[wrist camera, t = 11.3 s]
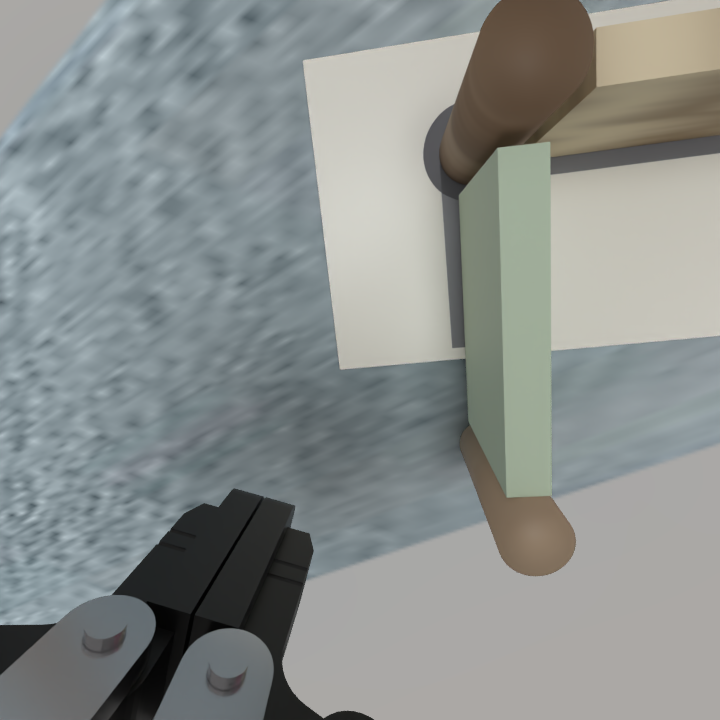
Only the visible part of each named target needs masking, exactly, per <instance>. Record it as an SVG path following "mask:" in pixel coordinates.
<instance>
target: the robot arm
mask: <svg viewBox="0 0 720 720" xmlns="http://www.w3.org/2000/svg"><path fill="white" fill-rule="evenodd" d="M294 510H295V506H294V505H291V504H287V503H284V502H280V501H277V500H273V499H270V498H267V497H266V498H264V497H263V496H259V495H256V494H252V493H249V492H245V491H242V490H238V489H235V488H234V489H233V490H232V491H231V492H230V493H229V494H228V496H227V497H226V498H225V500H224V501H223V502H222V504H221V505H220V506H219V507H215V506H212V505H208V504H205V503H204V504H202V505H200V506H198V507H196V508H194V509H192V510H190V511H188V512H186V513H184V514H183V516H182V517H181V518H180V519H179V520H178V521H177V522H176V523H175V525H174V526H173V527H172V528H171V530H170V532H169V531H168V532H167V534H166V535H165V536H164V537H163V538H162V539H161V540H160V542H159V544H158V545H156V546H155V547H154V548H153V549H152V550H151V552H150V553H149V554H148V555H147V556H146V557H145V558H144V559H143V561H142V562H141V563H140V564H139V565H138V566H137V567H136V568H135V570H134V571H133V572H132V573H131V574H130V575H129V576H128V577H127V578H126V580H125V581H124V582H123V583H122V584H121V585H120V586H119V587H118V589H117V590H116V591H115V592H114V593H113V594H112V595H110V596H104V597H99V598H96V599H93V600H90V601H88V602H85V603H83V604H81V605H79V606H78V607H76V608H75V609H73V610H72V611H70V612H69V613H68V614H67V615H65V616H64V617H63V618H62V619H61V620H60V621H59V622H58V623H55V624H46V625H0V720H374V719H372V718H371V717H369V716H366V715H364V714H362V713H358V712H354V711H341V712H336V713H333V714H331V715H329V716H327V717H326V718H324V719H323V718H322V717H321V716H319V715H318V714H317V713H315V712H314V711H313V710H311V709H310V708H309V707H307V706H306V705H305V704H303V703H302V702H301V701H300V700H299V699H298V698H297V697H296V695H295V694H294V693H293V692H292V690H291V689H290V687H289V685H288V683H287V681H286V679H285V676H284V672H283V667H282V660H283V657H284V653H285V650H286V646H287V643H288V640H289V637H290V634H291V630H292V627H293V624H294V620H295V617H296V614H297V610H298V607H299V604H300V600H301V596H302V592H303V589H304V585H305V581H306V577H307V574H308V570H309V566H310V562H311V559H312V555H313V551H314V550H313V546H312V542H311V538H310V534H309V533H305V532H302V531H299V530H295V529H292V528H290V527H291V523H292V519H293V515H294Z"/></svg>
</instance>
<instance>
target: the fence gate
mask: <svg viewBox="0 0 720 720" xmlns="http://www.w3.org/2000/svg"><path fill="white" fill-rule="evenodd" d="M459 214H460V238H461V261H462V284H463V308H464V331H465V355H466V378H467V401H468V422H469V424H470V425H469V426H468V427H467V428H466V429H465V430H464V431H463V433H462V435H461V438H460V449H461V452H462V455H463V457H464V460H465V463H466V465H467V468H468V471H469V473H470V476H471V479H472V481H473V484H474V486H475V489H476V492H477V494H478V497H479V500H480V502H481V505H482V508H483V510H484V513H485V516H486V518H487V521H488V524H489V526H490V529H491V532H492V534H493V537H494V539H495V542H496V545H497V547H498V550H499V553H500V555H501V557H502V559H503V560H504V562H505V563H506V564H507V565H508V566H509V567H510V568H512V569H513V570H515V571H516V572H518V573H521V574H524V575H528V576H543V575H548V574H551V573H553V572H556V571H557V570H559V569H561V568H562V567H563V566H564V565H566V563H567V562H568V561H569V560H570V559H571V557H572V555H573V553H574V550H575V545H576V539H575V533H574V530H573V528H572V527H571V525H570V523H569V522H568V521H567V519H566V518H565V516H564V515H563V513H562V512H561V511H560V509H559V508H558V506H557V505H556V503H555V502H554V500H553V499H552V498H551V496H552V453H551V175H550V142H543V143H534V144H526V145H517V146H508V147H500V148H497V149H496V150H495V152H494V153H493V154H492V155H491V156H490V158H489V159H488V160H487V161H486V163H485V164H484V165H483V166H482V167H481V169H480V170H479V171H478V172H477V174H476V175H475V176H474V177H473V178H472V180H471V181H470V182H469V183H468V185H467V186H466V187H465V188H464V189H463V191H462V192H461V193H460V194H459Z"/></svg>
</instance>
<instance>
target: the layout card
mask: <svg viewBox="0 0 720 720" xmlns="http://www.w3.org/2000/svg"><path fill="white" fill-rule="evenodd" d="M715 8H720V0H670V1H664V2H658V3H652V4H645V5H639V6H633V7H627V8H621V9H615V10H609V11H603V12H596V13H590V14H588V15H589V17H590V20H591V23H592V27H593V31H594V30H595V29H596V27H603V26H609V25H615V24H621V23H628V22H634V21H640V20H646V19H653V18H659V17H665V16H671V15H678V14H684V13H690V12H696V11H703V10H709V9H715ZM479 33H480V32H474V33H468V34H462V35H456V36H449V37H443V38H437V39H431V40H425V41H419V42H413V43H407V44H400V45H394V46H388V47H382V48H376V49H370V50H364V51H358V52H352V53H345V54H339V55H333V56H327V57H321V58H315V59H309V60H303V66H304V75H305V83H306V91H307V99H308V108H309V116H310V124H311V133H312V141H313V149H314V158H315V166H316V174H317V183H318V191H319V199H320V208H321V216H322V224H323V233H324V241H325V249H326V258H327V266H328V274H329V283H330V291H331V299H332V308H333V316H334V324H335V332H336V341H337V349H338V357H339V366H340V370H343V369H354V368H365V367H376V366H388V365H399V364H410V363H421V362H432V361H444V360H455V359H466V355H465V331H464V308H463V284H462V261H461V238H460V214H459V194H460V193H461V192H462V191H463V189H464V188H465V187H466V186H467V185H464V184H460V183H457V182H455V181H454V180H452V179H451V178H450V177H449V176H448V175H447V174H446V173H445V172H444V170H443V168H442V166H441V163H440V158H439V148H440V143H441V140H442V138H443V135H444V132H445V129H446V126H447V123H448V121H449V118H450V115H451V112H452V109H453V106H454V104H455V101H456V98H457V95H458V92H459V89H460V87H461V84H462V81H463V78H464V75H465V72H466V70H467V67H468V64H469V61H470V58H471V55H472V53H473V50H474V47H475V44H476V41H477V39H478V36H479ZM550 175H551V351H555V350H566V349H578V348H589V347H600V346H611V345H622V344H633V343H645V342H656V341H667V340H678V339H689V338H701V337H712V336H720V135H716V136H709V137H701V138H693V139H686V140H678V141H671V142H663V143H656V144H648V145H641V146H633V147H626V148H618V149H611V150H603V151H595V152H588V153H580V154H573V155H565V156H558V157H550Z"/></svg>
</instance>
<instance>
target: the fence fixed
mask: <svg viewBox="0 0 720 720" xmlns="http://www.w3.org/2000/svg"><path fill="white" fill-rule="evenodd" d="M716 135H720V8H715V9H709V10H703V11H696V12H690V13H684V14H678V15H671V16H665V17H659V18H653V19H646V20H640V21H634V22H628V23H621V24H615V25H609V26H603V27H596V29H595V30H594V31H593V27H592V23H591V20H590V17H589V15H588V13H587V11H586V9H585V8H584V7H583V5H582V4H581V2H580V1H579V0H501V1H500V2H499V3H498V4H497V5H496V6H495V7H494V8H493V10H492V11H491V12H490V13H489V15H488V16H487V18H486V20H485V22H484V23H483V25H482V28H481V30H480V33H479V36H478V39H477V41H476V44H475V47H474V50H473V53H472V55H471V58H470V61H469V64H468V67H467V70H466V72H465V75H464V78H463V81H462V84H461V87H460V89H459V92H458V95H457V98H456V101H455V104H454V106H453V109H452V112H451V115H450V118H449V121H448V123H447V126H446V129H445V132H444V135H443V138H442V140H441V143H440V148H439V158H440V163H441V166H442V168H443V170H444V172H445V173H446V174H447V175H448V176H449V177H450V178H451V179H452V180H454V181H455V182H457V183H460V184H464V185H468V183H469V182H470V181H471V180H472V178H473V177H474V176H475V175H476V174H477V172H478V171H479V170H480V169H481V167H482V166H483V165H484V164H485V163H486V161H487V160H488V159H489V158H490V156H491V155H492V154H493V153H494V152H495V150H496V149H497V148H500V147H508V146H517V145H526V144H534V143H543V142H550V157H558V156H565V155H573V154H580V153H588V152H595V151H603V150H611V149H618V148H626V147H633V146H641V145H648V144H656V143H663V142H671V141H678V140H686V139H693V138H701V137H709V136H716Z"/></svg>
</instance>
